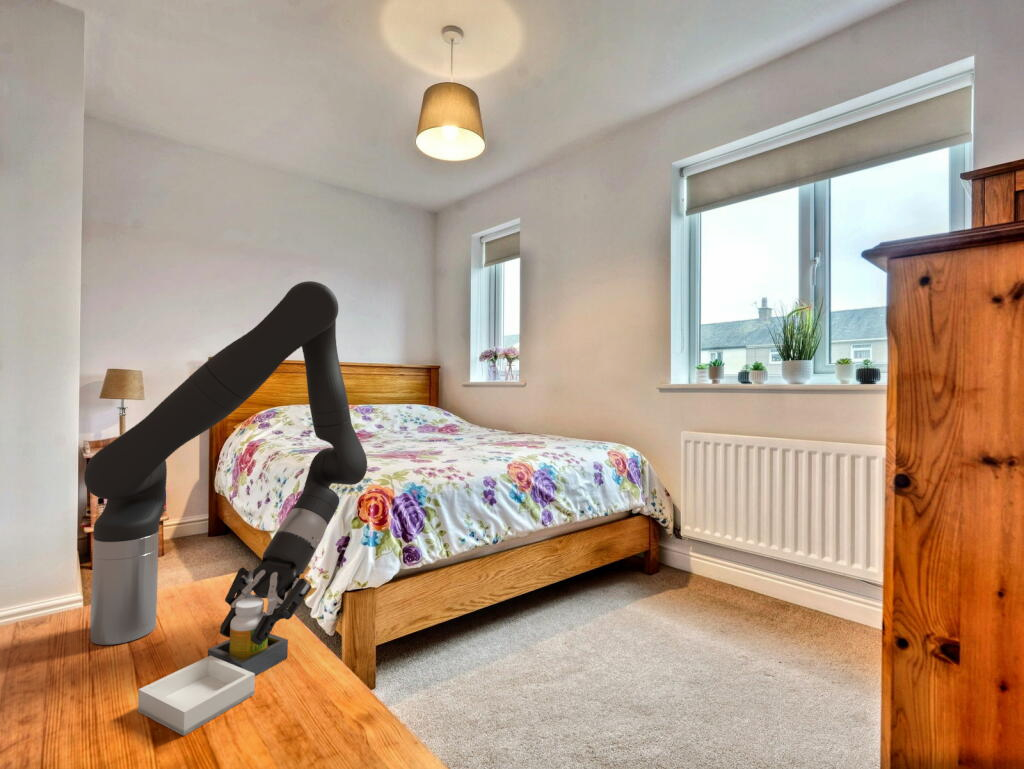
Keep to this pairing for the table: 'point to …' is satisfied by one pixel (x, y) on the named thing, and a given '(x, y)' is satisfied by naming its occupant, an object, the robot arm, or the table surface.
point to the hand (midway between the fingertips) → (240, 638)
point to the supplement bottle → (246, 627)
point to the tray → (196, 694)
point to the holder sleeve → (254, 655)
